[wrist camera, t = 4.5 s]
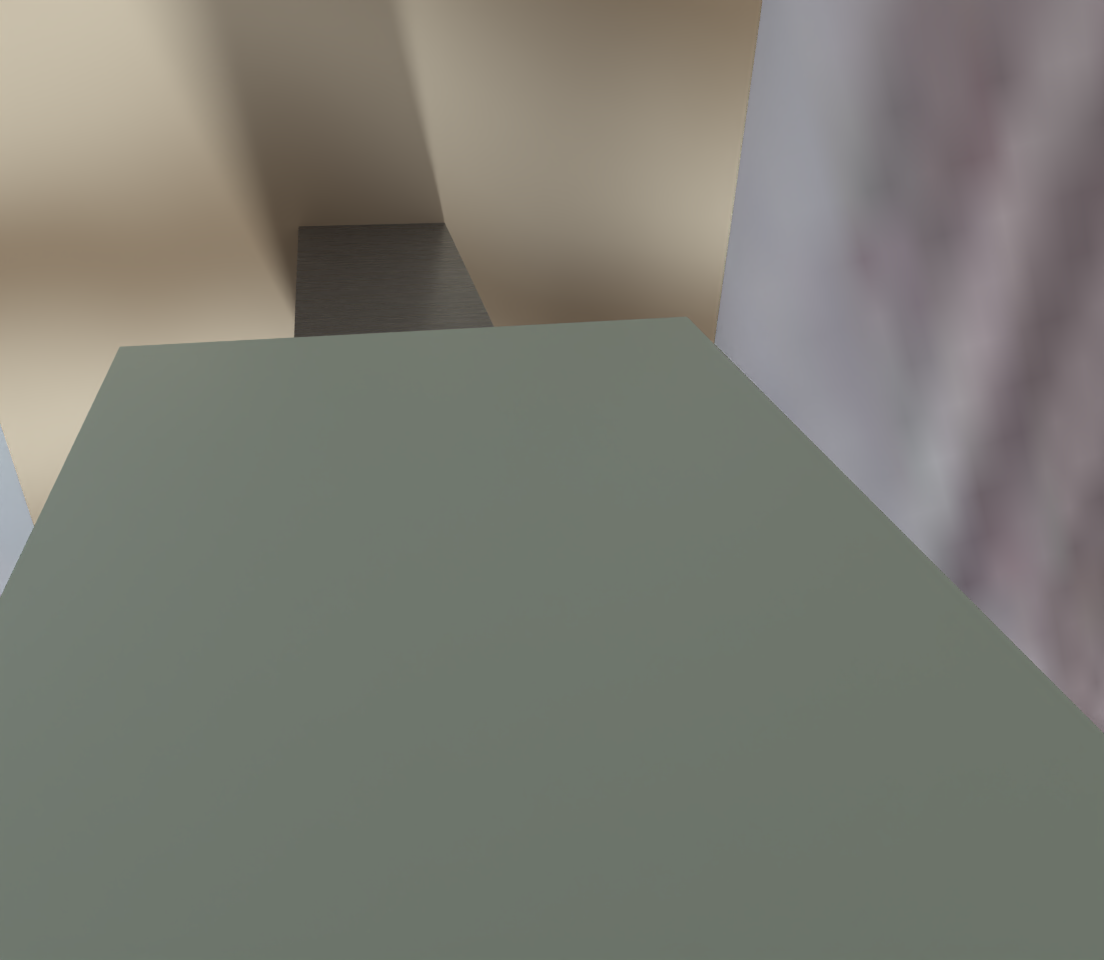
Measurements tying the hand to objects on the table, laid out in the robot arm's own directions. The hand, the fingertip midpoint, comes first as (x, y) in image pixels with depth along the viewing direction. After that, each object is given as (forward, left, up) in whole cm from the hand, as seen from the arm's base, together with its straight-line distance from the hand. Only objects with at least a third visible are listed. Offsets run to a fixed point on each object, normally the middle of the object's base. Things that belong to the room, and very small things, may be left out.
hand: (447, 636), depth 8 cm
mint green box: (0, 0, -1) cm, 1 cm away
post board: (0, 0, -10) cm, 10 cm away
